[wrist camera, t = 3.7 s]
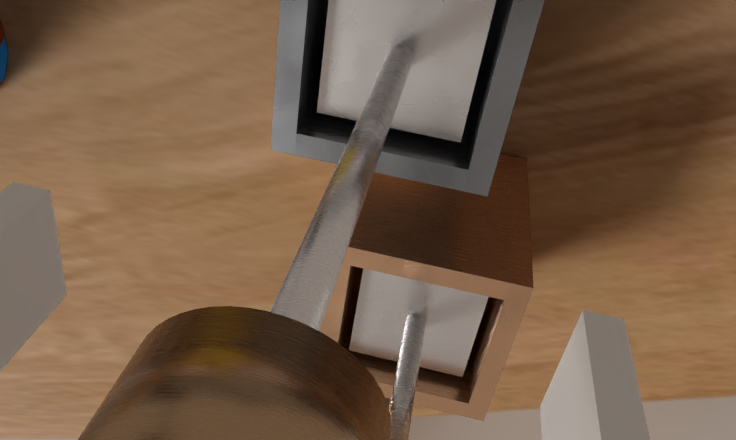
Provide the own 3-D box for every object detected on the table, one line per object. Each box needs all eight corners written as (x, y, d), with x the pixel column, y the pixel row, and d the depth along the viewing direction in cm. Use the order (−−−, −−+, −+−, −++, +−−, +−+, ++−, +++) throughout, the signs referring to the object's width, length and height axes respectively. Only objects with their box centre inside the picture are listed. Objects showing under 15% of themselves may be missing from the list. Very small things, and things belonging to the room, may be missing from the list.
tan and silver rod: (337, -44, 24) (-77, 364, 7) (498, -13, 24) (471, 500, 7) (321, 104, 28) (15, 623, 10) (461, 133, 27) (382, 723, 10)
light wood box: (376, 127, 39) (331, 243, 29) (526, 158, 38) (533, 288, 28) (351, 281, 46) (307, 417, 36) (478, 309, 45) (470, 456, 35)
